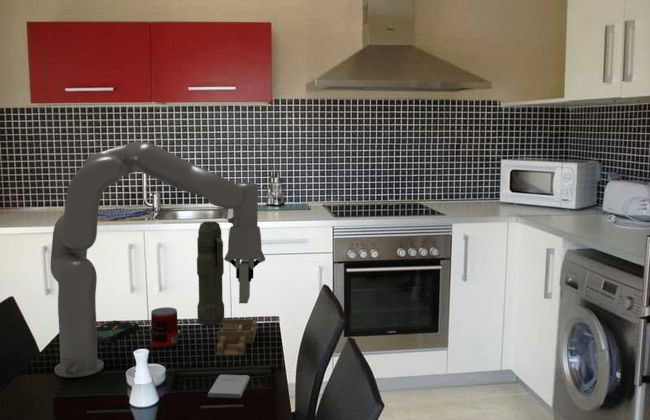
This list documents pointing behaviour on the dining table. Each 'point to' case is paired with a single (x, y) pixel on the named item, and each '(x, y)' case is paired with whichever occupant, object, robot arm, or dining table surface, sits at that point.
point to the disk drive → (115, 331)
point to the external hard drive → (229, 386)
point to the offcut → (229, 327)
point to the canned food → (164, 327)
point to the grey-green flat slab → (244, 281)
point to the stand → (231, 347)
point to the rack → (239, 330)
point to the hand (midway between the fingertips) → (244, 280)
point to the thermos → (210, 274)
